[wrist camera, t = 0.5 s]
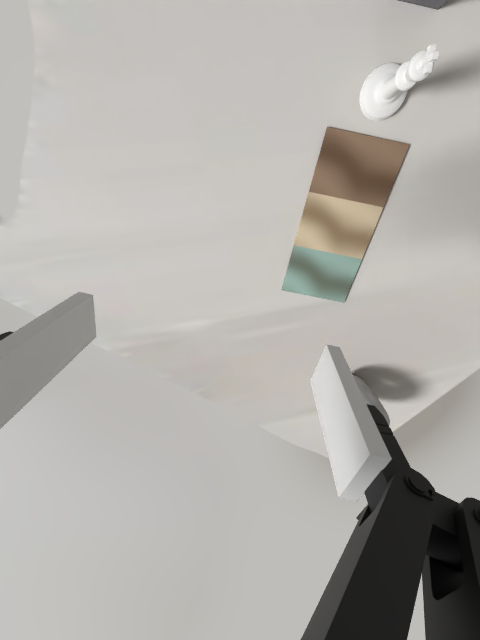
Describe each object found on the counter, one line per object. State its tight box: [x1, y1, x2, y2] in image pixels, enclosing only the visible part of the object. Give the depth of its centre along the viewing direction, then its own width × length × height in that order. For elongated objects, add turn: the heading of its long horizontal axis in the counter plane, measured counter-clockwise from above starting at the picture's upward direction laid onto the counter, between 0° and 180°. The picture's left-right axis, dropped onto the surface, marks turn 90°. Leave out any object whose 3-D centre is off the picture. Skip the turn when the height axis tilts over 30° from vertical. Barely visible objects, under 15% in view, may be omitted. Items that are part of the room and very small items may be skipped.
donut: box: [353, 375, 390, 425], centre depth 44 cm, size 10×4×10 cm, turn 44°
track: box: [282, 127, 409, 303], centre depth 36 cm, size 21×10×1 cm, turn 169°
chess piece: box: [360, 44, 439, 121], centre depth 25 cm, size 5×5×10 cm
